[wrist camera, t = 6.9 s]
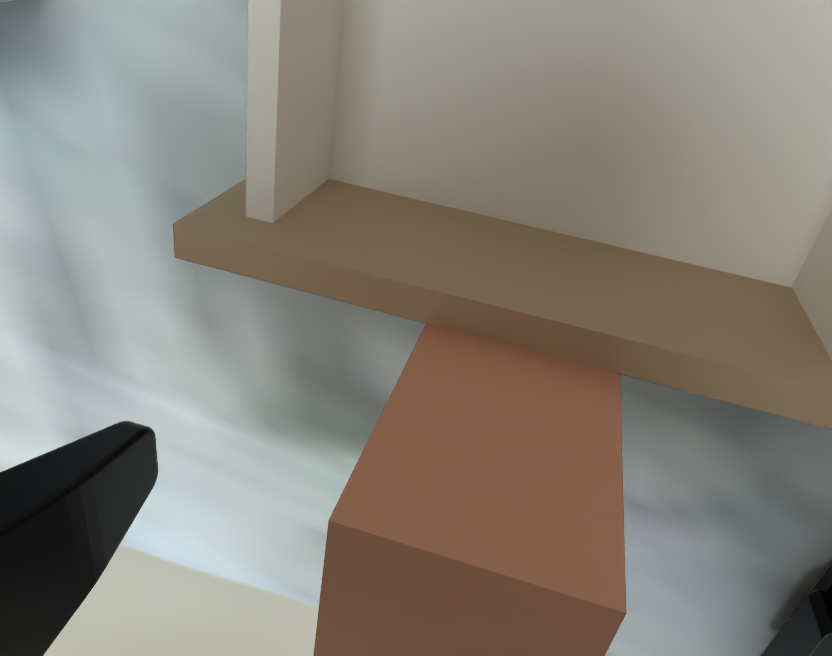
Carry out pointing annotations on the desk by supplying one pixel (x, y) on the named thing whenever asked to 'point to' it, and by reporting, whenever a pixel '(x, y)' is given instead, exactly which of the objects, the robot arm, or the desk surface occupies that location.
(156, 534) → the desk surface
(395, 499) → the tray
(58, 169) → the desk surface
